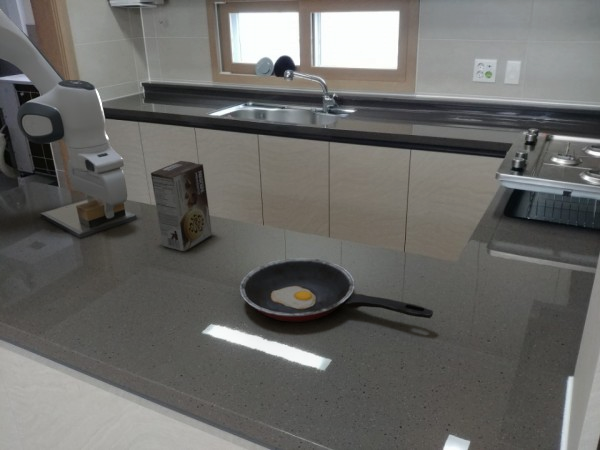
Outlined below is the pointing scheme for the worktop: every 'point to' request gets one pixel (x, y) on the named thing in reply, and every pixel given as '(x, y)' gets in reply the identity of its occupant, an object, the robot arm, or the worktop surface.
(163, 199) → the coffee box
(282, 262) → the frying pan
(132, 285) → the worktop surface
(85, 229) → the whiteboard
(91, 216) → the eraser
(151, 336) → the worktop surface
